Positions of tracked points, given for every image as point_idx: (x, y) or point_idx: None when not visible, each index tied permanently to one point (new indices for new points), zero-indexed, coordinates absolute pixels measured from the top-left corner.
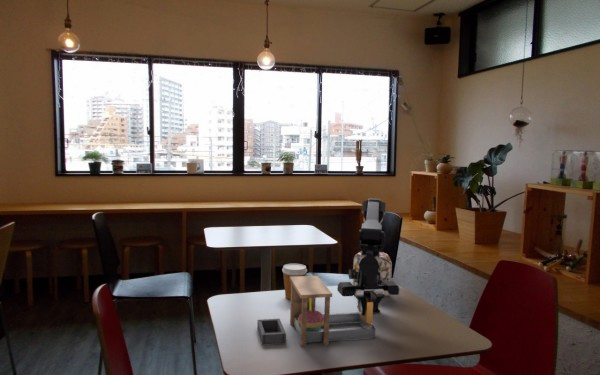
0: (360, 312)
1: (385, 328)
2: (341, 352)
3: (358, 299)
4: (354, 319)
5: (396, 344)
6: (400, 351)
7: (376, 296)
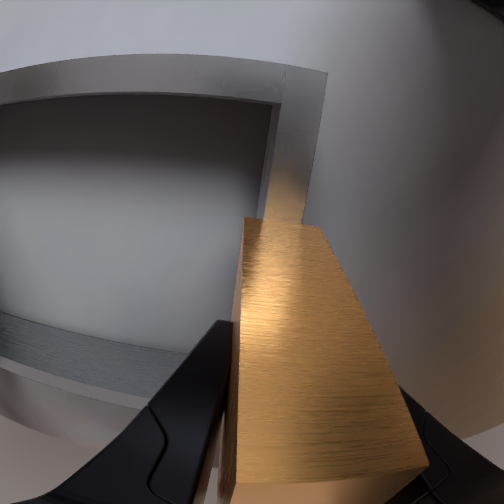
0: (320, 82)
1: (417, 263)
2: (57, 400)
3: (105, 491)
4: (228, 98)
5: None
6: None
7: None
